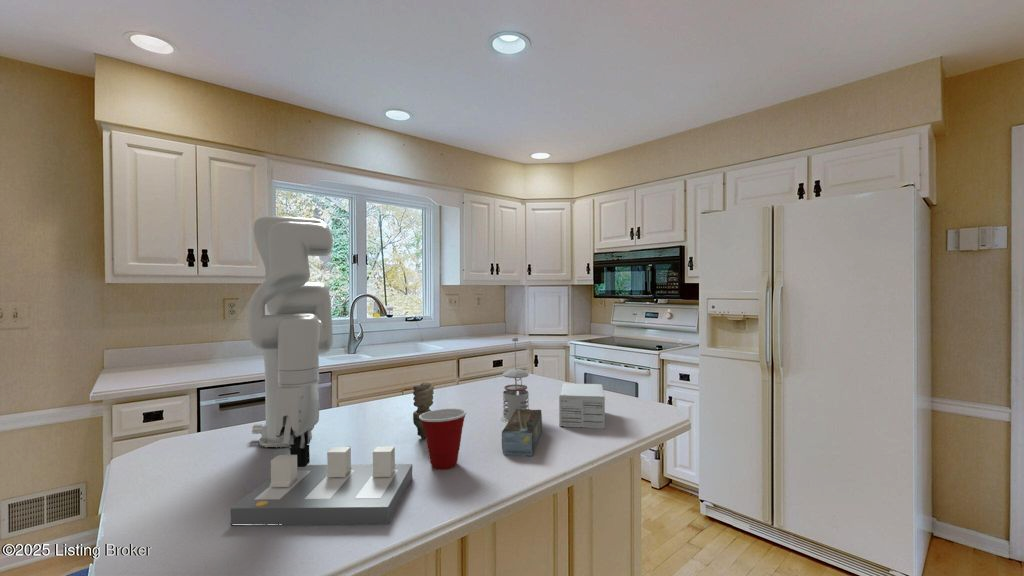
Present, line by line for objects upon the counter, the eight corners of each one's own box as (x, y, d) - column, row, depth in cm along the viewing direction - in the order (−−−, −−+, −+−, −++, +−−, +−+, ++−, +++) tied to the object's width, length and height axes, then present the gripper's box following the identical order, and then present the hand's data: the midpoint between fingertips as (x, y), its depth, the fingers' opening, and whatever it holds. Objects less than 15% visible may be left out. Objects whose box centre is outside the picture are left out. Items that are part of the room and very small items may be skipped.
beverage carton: (500, 455, 105) (500, 428, 105) (515, 430, 124) (514, 406, 124) (533, 457, 103) (532, 430, 103) (542, 431, 122) (542, 408, 122)
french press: (497, 422, 129) (496, 339, 129) (504, 411, 141) (503, 334, 141) (529, 424, 128) (529, 339, 128) (534, 412, 139) (533, 334, 139)
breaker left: (269, 487, 82) (269, 461, 82) (280, 478, 85) (279, 454, 85) (288, 486, 82) (288, 461, 82) (298, 478, 85) (298, 454, 85)
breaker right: (372, 476, 86) (372, 452, 86) (377, 469, 89) (377, 445, 89) (390, 476, 86) (390, 452, 86) (395, 469, 89) (395, 445, 89)
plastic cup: (448, 451, 107) (448, 403, 107) (476, 464, 99) (476, 411, 99) (410, 464, 99) (409, 412, 99) (437, 479, 92) (436, 422, 92)
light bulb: (436, 435, 119) (436, 380, 119) (431, 442, 113) (430, 385, 113) (416, 434, 119) (416, 380, 119) (410, 442, 114) (409, 385, 114)
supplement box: (605, 429, 123) (605, 396, 123) (559, 427, 125) (558, 395, 125) (602, 412, 140) (602, 383, 140) (561, 410, 142) (561, 382, 142)
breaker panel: (230, 525, 74) (230, 507, 74) (285, 479, 92) (285, 464, 92) (387, 524, 74) (387, 506, 74) (412, 478, 92) (412, 463, 92)
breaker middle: (326, 477, 86) (326, 452, 86) (334, 469, 89) (334, 446, 89) (344, 477, 86) (344, 452, 86) (351, 469, 89) (351, 446, 89)
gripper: (298, 369, 97) (299, 451, 97) (259, 384, 82) (260, 481, 82) (332, 369, 97) (333, 451, 97) (299, 384, 82) (300, 481, 82)
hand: (300, 465), depth 89 cm, fingers closed
